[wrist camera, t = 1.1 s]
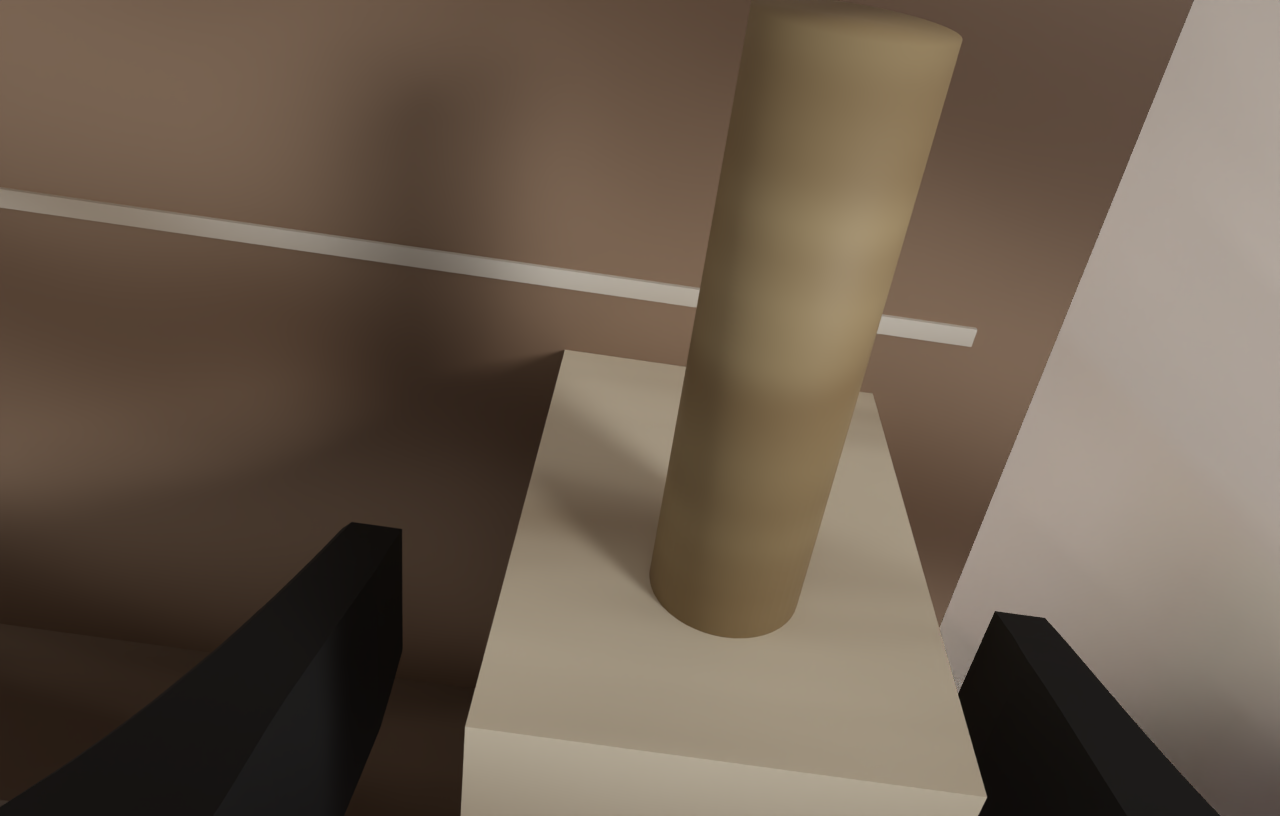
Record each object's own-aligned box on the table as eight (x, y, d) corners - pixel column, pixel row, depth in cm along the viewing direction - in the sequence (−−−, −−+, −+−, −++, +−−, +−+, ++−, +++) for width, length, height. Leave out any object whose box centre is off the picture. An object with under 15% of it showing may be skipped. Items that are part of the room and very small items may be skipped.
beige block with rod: (790, 665, 15) (833, 1101, 10) (536, 629, 15) (449, 1050, 10) (998, -24, 10) (1312, 155, 5) (608, -83, 10) (498, 33, 5)
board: (853, 710, 18) (897, 979, 14) (-419, 536, 18) (-766, 761, 14) (1154, -118, 11) (1435, -74, 7) (-994, -447, 11) (-2133, -620, 6)
